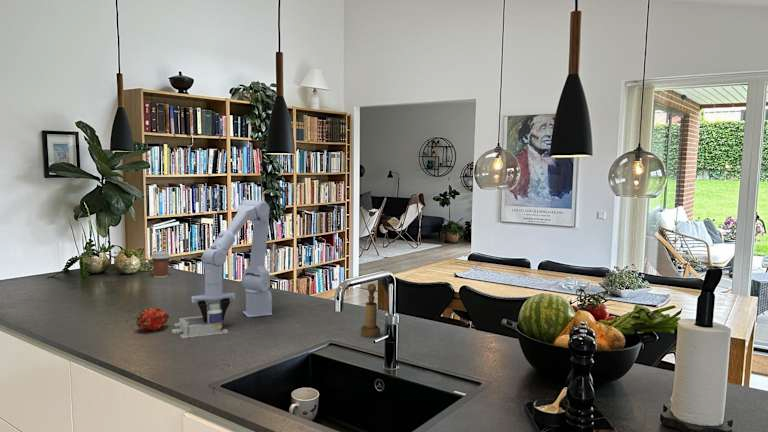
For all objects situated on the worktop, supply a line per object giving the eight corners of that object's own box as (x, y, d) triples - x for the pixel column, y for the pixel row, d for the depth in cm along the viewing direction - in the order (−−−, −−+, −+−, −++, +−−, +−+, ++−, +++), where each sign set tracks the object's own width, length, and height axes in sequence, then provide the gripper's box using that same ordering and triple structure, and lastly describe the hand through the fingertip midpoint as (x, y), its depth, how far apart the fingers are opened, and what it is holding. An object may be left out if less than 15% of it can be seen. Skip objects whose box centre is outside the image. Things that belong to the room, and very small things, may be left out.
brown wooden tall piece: (365, 338, 184) (367, 286, 182) (357, 333, 190) (359, 282, 188) (383, 336, 187) (384, 285, 185) (374, 331, 193) (376, 281, 191)
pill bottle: (225, 327, 191) (225, 302, 190) (214, 331, 186) (213, 306, 186) (214, 324, 194) (214, 300, 193) (203, 328, 189) (202, 303, 188)
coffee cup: (147, 277, 267) (146, 253, 266) (157, 273, 276) (157, 250, 274) (164, 278, 265) (164, 254, 264) (174, 275, 274) (174, 251, 273)
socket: (217, 320, 199) (217, 312, 199) (228, 332, 185) (228, 324, 185) (169, 325, 191) (169, 317, 191) (175, 339, 177) (175, 330, 177)
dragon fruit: (132, 338, 182) (165, 335, 191) (146, 327, 178) (178, 324, 187) (127, 314, 185) (159, 312, 195) (140, 303, 181) (172, 302, 191)
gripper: (231, 278, 196) (231, 315, 198) (189, 282, 189) (189, 320, 190) (236, 282, 190) (236, 320, 192) (193, 286, 183) (193, 325, 184)
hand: (213, 320), depth 190 cm, fingers open, 5 cm apart
